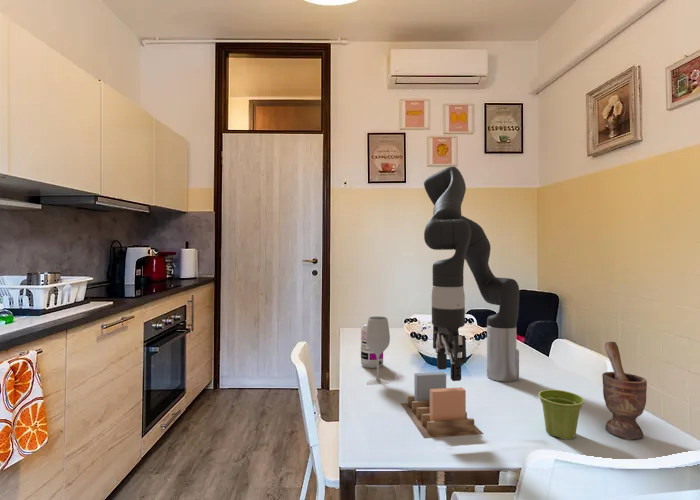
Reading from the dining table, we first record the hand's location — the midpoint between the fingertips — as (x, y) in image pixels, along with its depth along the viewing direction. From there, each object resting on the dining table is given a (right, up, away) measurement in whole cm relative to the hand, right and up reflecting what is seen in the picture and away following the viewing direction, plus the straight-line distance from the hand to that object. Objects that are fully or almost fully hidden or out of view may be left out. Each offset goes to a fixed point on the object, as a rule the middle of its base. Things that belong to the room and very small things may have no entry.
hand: (448, 374), depth 95 cm
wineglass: (-14, -14, +35) cm, 40 cm away
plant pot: (+26, -14, 0) cm, 30 cm away
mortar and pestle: (+41, -14, +2) cm, 43 cm away
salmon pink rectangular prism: (0, -13, 0) cm, 13 cm away
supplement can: (-15, -14, +55) cm, 58 cm away
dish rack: (-1, -14, +6) cm, 15 cm away
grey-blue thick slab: (-2, -13, +12) cm, 17 cm away
